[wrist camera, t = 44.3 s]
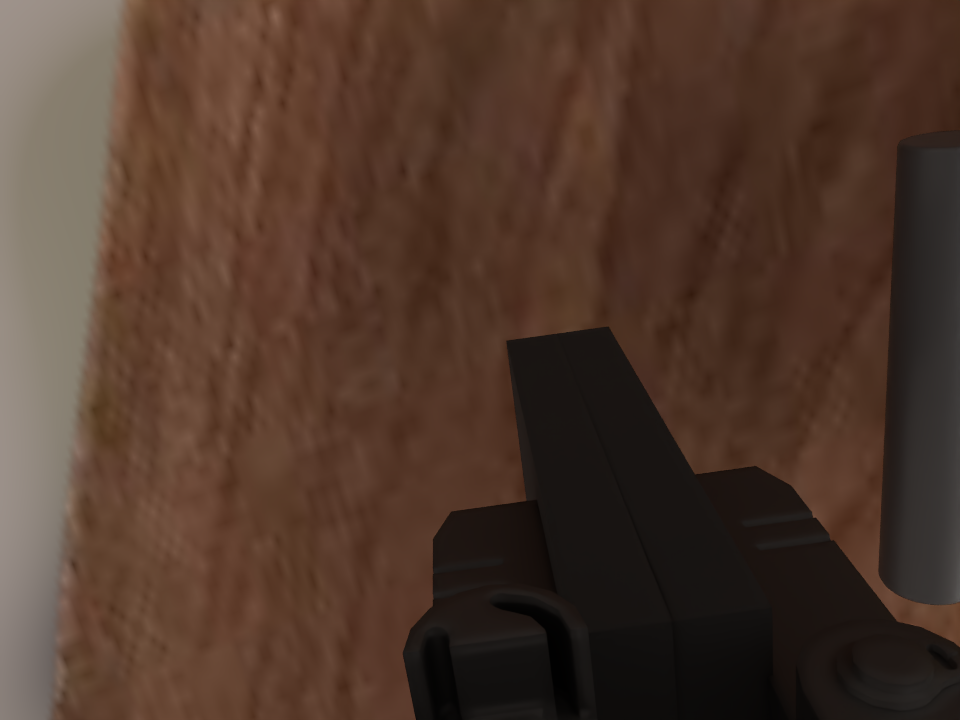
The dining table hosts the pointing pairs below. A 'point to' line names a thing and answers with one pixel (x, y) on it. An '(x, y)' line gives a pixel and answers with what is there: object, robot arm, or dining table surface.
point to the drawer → (924, 377)
